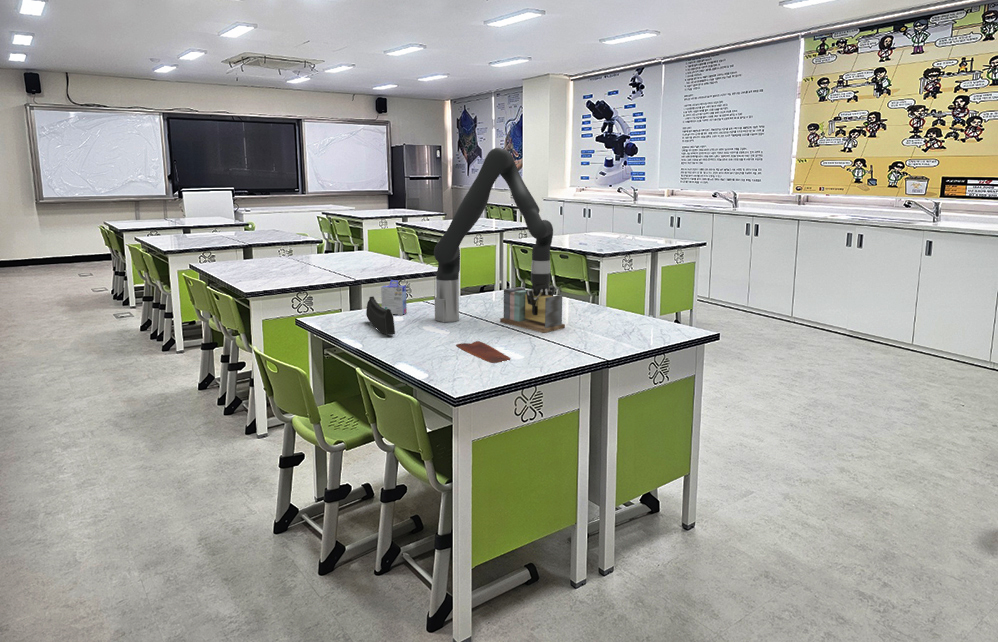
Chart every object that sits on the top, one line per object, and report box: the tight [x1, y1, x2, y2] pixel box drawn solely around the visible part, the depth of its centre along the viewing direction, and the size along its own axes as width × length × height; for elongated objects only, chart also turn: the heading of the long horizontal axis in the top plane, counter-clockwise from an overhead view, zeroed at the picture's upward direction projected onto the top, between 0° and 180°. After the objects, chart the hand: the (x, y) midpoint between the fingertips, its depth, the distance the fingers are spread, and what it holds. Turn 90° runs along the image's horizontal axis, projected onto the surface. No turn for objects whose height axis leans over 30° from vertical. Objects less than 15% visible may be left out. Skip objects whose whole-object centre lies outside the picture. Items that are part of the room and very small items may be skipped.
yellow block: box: [525, 294, 552, 323], centre depth 271 cm, size 5×12×10 cm, turn 42°
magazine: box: [365, 296, 396, 336], centre depth 267 cm, size 17×3×30 cm
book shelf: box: [499, 286, 566, 333], centre depth 275 cm, size 12×25×14 cm, turn 42°
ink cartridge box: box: [380, 279, 408, 316], centre depth 295 cm, size 10×6×14 cm, turn 80°
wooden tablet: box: [455, 340, 511, 364], centre depth 235 cm, size 27×10×2 cm, turn 29°
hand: (539, 313), depth 272 cm, fingers closed on yellow block, 5 cm apart
